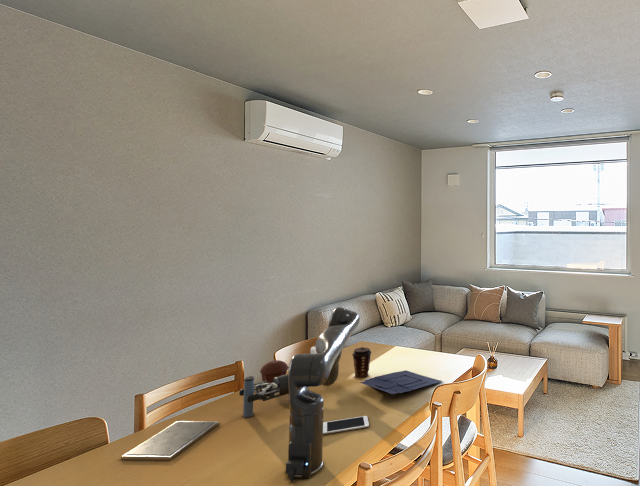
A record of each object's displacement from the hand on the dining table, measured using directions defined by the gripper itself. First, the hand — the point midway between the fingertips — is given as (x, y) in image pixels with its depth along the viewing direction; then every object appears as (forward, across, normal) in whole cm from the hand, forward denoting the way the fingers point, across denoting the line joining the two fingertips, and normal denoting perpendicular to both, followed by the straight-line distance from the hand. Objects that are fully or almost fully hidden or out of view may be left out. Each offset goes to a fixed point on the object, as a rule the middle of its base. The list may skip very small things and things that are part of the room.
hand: (243, 396), depth 146 cm
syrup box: (-38, -17, +8) cm, 42 cm away
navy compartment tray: (-58, +20, +8) cm, 62 cm away
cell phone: (-22, +34, +8) cm, 41 cm away
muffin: (-20, -24, +8) cm, 33 cm away
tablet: (+21, +2, +8) cm, 22 cm away
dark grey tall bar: (-2, 0, +8) cm, 8 cm away
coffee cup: (-52, -4, +8) cm, 53 cm away
